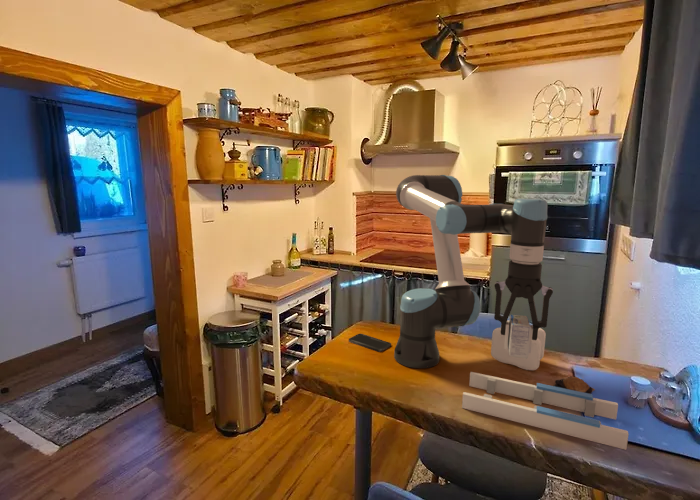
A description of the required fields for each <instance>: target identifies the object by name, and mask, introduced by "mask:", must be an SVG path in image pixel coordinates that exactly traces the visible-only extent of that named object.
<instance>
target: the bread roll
mask: <svg viewBox="0 0 700 500" xmlns="http://www.w3.org/2000/svg"><path fill="white" fill-rule="evenodd" d="M552 386H555V387H560V388H565V389H569V390H574V391H579V392H584V393H588V394H592V393H593V392H594V391H596V389H595V388H594V387H592V386H590V385H589V384H588V383H587V382H585V381H584V379H581V378H579V377H577V376H569V377H567V378H562V379H556V380H555V381H554V385H552Z"/></svg>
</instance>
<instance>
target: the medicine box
mask: <svg viewBox="0 0 700 500" xmlns="http://www.w3.org/2000/svg"><path fill="white" fill-rule="evenodd" d="M508 321H509V322H510V325H509V336H508V349H509V356H513V357H519V358H526V359H527V358H528V352H529V341H530V330H531V326H530V325H531V324H530V321H529V318H528V316H527V315H521V314H509V317H508Z"/></svg>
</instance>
